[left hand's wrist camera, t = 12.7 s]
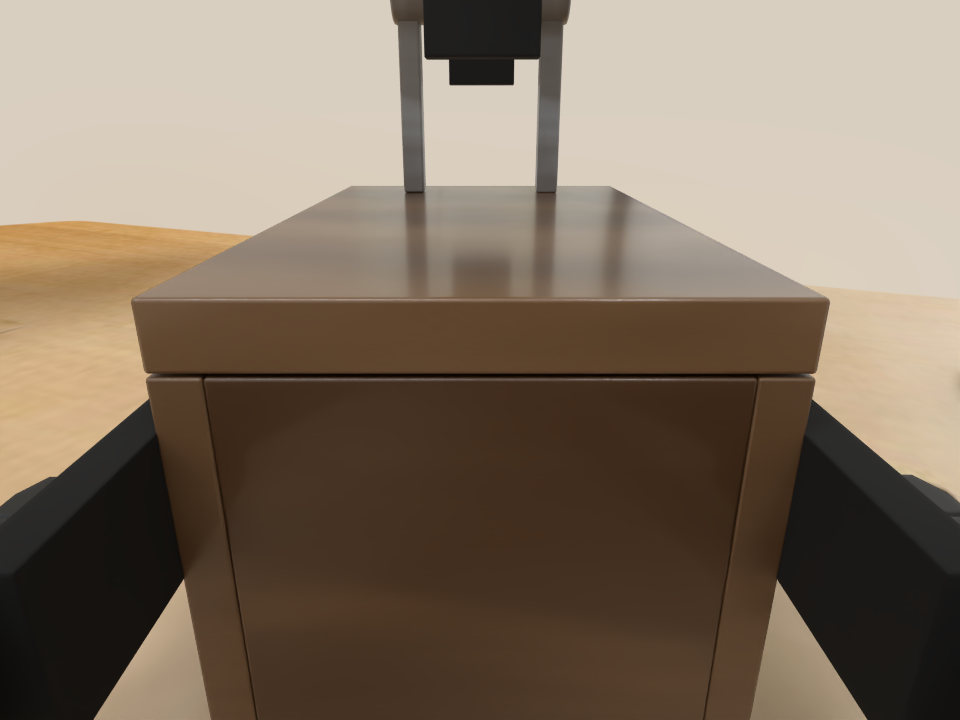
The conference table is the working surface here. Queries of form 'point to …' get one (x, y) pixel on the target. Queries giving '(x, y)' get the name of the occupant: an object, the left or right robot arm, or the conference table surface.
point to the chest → (480, 540)
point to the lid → (480, 277)
